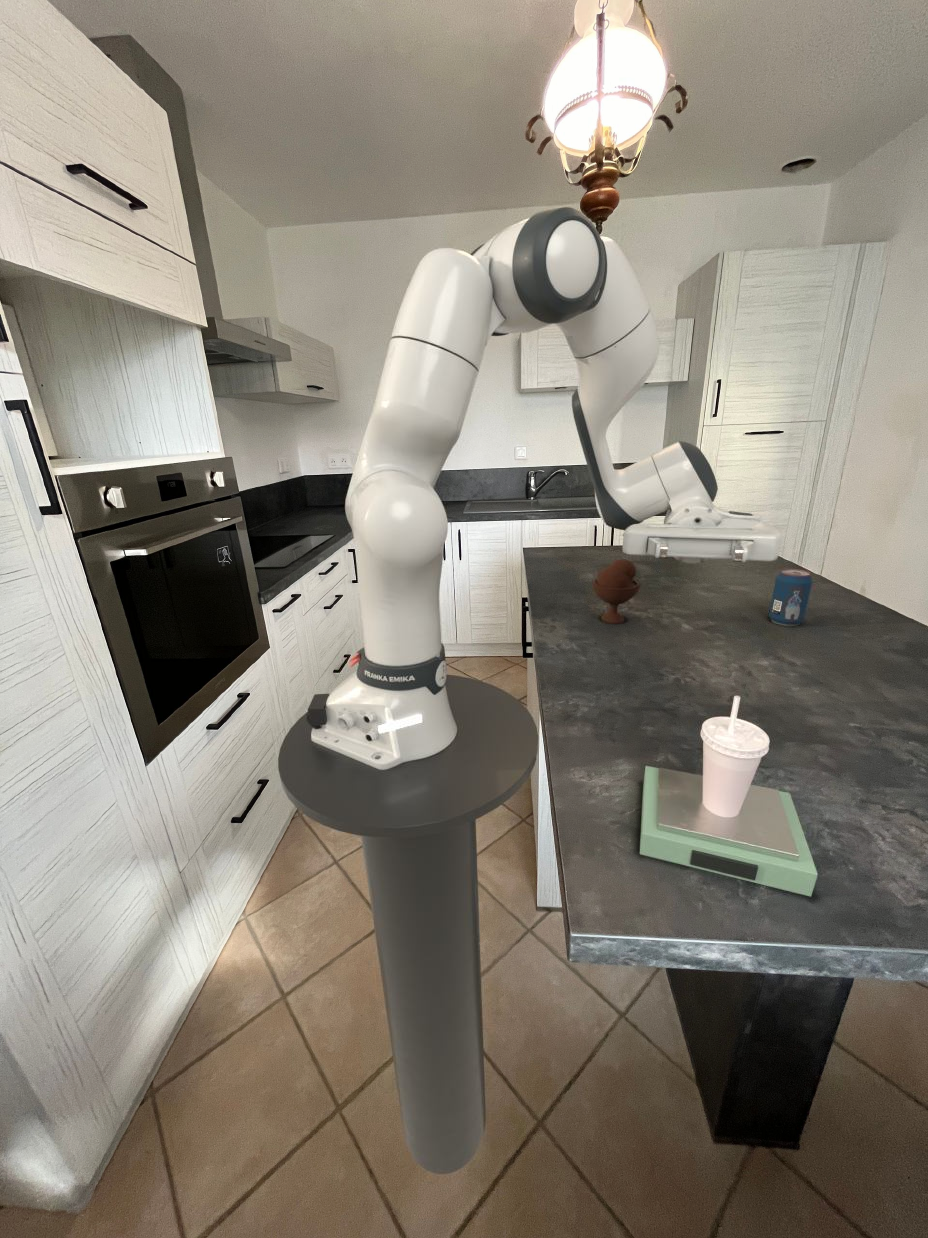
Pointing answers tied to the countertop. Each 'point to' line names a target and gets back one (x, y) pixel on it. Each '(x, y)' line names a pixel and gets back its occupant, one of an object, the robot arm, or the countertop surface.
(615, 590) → the ice cream bowl
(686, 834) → the scale pan
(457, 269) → the robot arm
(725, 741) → the smoothie
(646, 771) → the kitchen scale
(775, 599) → the soda can
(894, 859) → the countertop surface
